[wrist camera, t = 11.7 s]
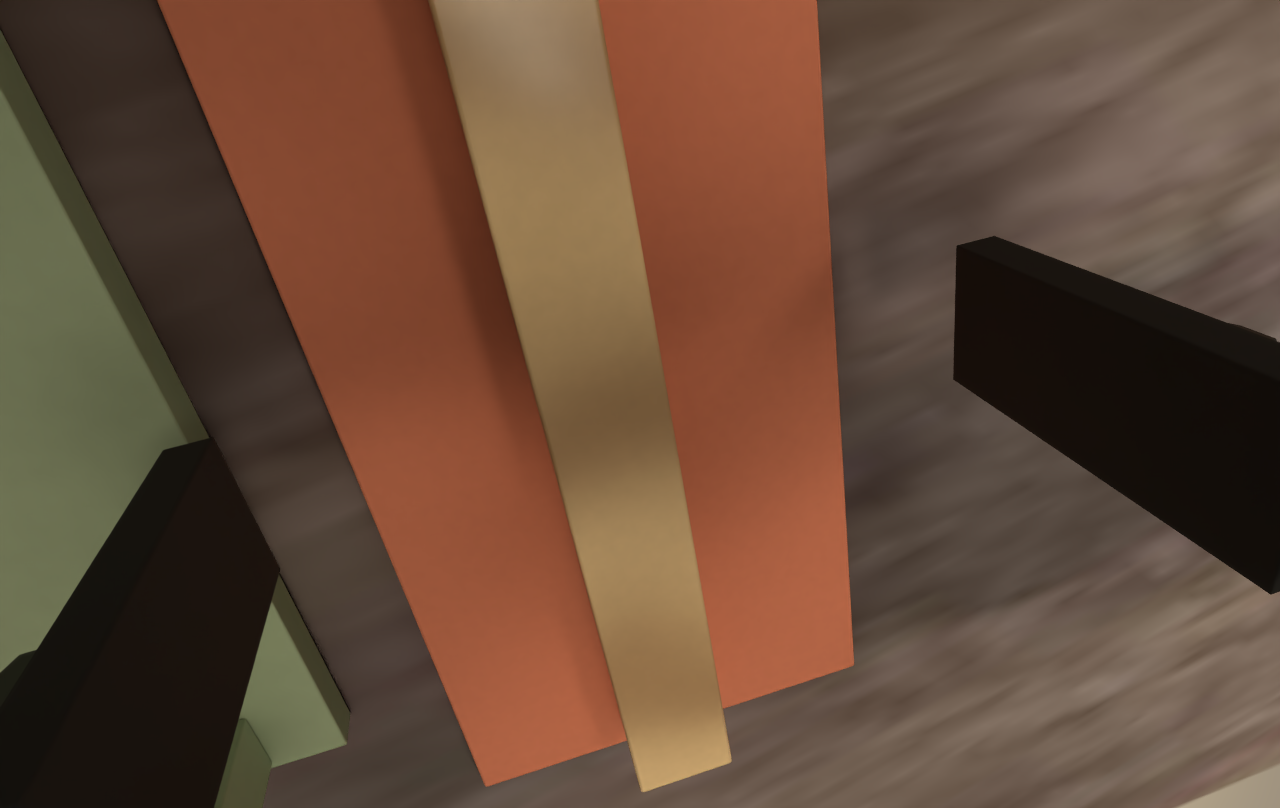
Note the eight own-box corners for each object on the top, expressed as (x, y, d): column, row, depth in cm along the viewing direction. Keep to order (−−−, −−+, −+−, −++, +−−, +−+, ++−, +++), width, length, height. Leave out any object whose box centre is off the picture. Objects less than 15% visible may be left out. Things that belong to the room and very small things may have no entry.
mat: (10, -380, 10) (-12, -401, 10) (775, -470, 12) (791, -493, 11) (483, 769, 22) (485, 788, 21) (845, 651, 23) (855, 666, 23)
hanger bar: (337, -336, 11) (315, -421, 9) (504, -358, 11) (521, -446, 9) (621, 718, 21) (641, 794, 19) (703, 691, 22) (733, 763, 19)
